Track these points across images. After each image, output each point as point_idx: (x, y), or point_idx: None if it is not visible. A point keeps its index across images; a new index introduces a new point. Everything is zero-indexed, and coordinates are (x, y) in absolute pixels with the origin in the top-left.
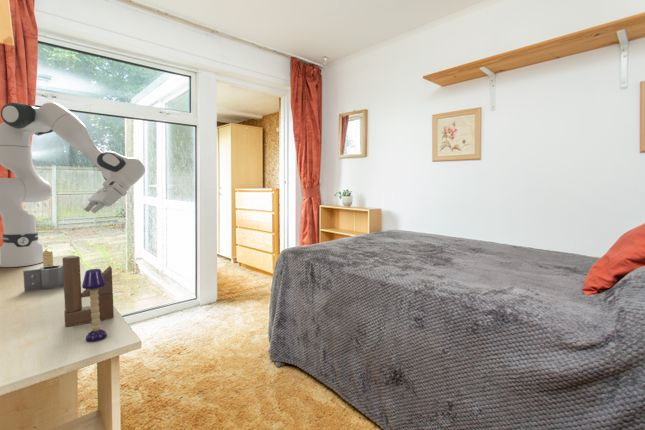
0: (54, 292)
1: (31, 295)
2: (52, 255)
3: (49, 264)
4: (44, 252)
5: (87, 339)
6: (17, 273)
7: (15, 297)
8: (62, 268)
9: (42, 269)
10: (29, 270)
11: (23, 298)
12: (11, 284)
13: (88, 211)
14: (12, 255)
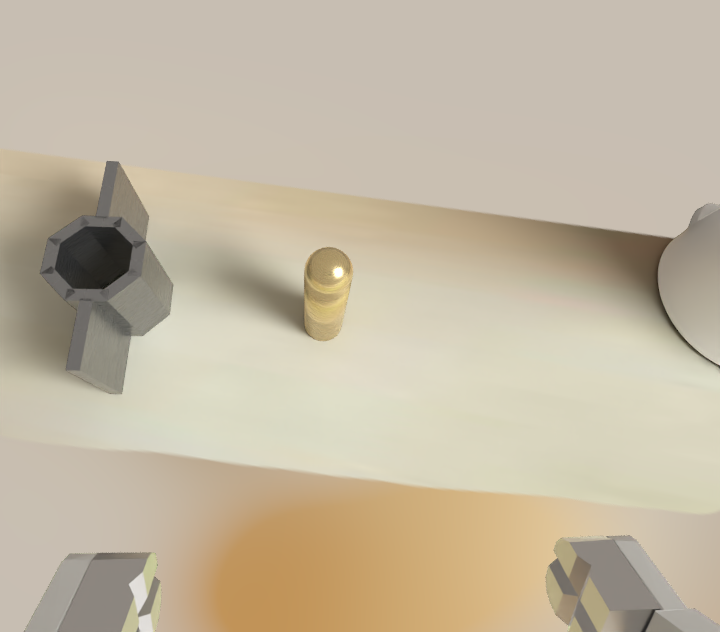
0: (15, 284)
1: (52, 220)
2: (316, 294)
3: (304, 297)
4: (319, 249)
5: None
6: (514, 250)
7: (75, 182)
8: (68, 303)
9: (76, 219)
10: (107, 180)
11: (32, 196)
12: (309, 204)
13: (551, 597)
14: (717, 231)
